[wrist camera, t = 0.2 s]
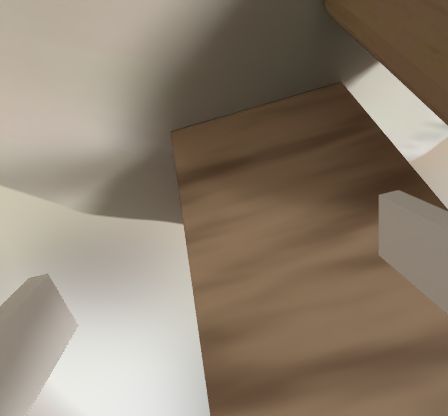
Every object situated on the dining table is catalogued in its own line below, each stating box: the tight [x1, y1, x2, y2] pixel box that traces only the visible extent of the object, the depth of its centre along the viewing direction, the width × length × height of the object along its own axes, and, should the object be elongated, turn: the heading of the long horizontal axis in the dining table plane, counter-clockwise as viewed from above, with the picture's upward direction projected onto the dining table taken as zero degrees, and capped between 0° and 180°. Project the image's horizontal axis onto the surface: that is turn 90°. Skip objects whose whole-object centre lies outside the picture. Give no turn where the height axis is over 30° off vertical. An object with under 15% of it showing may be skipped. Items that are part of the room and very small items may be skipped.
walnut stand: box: [171, 82, 448, 416], centre depth 21 cm, size 16×16×32 cm
